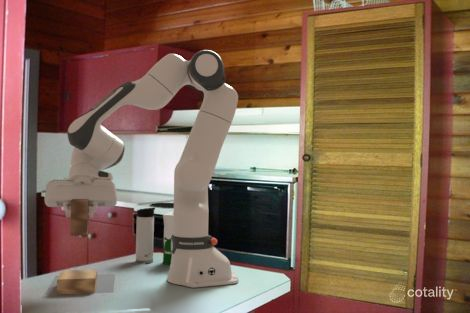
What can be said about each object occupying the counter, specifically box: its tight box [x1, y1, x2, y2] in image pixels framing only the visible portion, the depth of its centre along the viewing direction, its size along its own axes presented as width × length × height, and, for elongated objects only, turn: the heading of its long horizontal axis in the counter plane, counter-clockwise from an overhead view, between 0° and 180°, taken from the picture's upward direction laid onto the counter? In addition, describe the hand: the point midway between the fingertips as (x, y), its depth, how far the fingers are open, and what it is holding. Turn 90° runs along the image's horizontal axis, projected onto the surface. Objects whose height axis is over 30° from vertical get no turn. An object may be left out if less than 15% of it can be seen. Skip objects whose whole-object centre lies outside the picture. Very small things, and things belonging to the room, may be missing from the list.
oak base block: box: [56, 269, 98, 295], centre depth 133 cm, size 10×10×4 cm
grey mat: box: [44, 273, 116, 296], centre depth 138 cm, size 18×20×1 cm
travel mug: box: [135, 206, 156, 264], centre depth 171 cm, size 6×7×20 cm
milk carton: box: [162, 211, 174, 265], centre depth 170 cm, size 9×9×20 cm
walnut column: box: [69, 199, 90, 237], centre depth 133 cm, size 4×4×10 cm
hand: (79, 216), depth 133 cm, fingers closed on walnut column, 4 cm apart
